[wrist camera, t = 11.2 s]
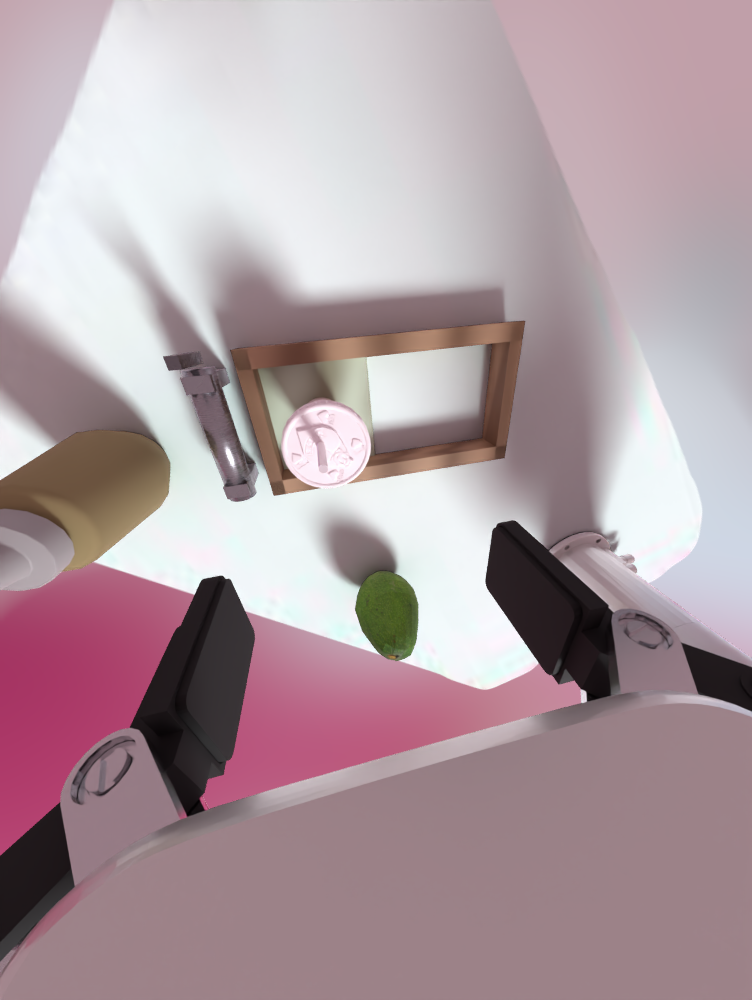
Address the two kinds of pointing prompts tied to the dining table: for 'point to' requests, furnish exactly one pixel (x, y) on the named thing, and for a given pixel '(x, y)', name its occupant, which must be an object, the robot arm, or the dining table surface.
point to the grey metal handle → (216, 423)
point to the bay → (344, 378)
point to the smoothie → (325, 443)
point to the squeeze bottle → (77, 503)
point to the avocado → (388, 614)
